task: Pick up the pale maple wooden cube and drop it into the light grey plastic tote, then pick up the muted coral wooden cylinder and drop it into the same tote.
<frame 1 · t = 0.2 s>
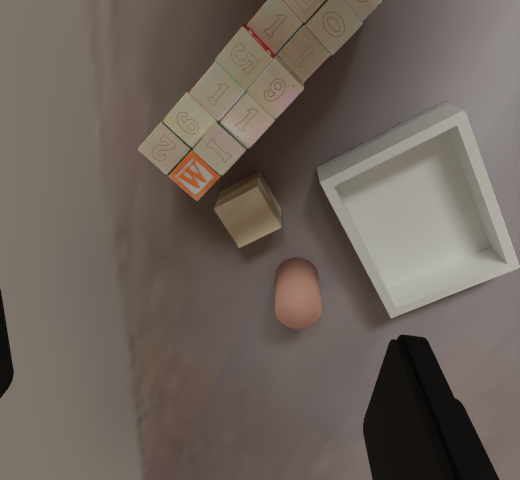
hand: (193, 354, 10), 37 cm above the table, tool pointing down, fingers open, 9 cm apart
stack of blocks: (265, 62, 42), on the table
cube: (251, 200, 48), on the table
tote: (410, 207, 47), on the table
cylinder: (296, 275, 52), on the table
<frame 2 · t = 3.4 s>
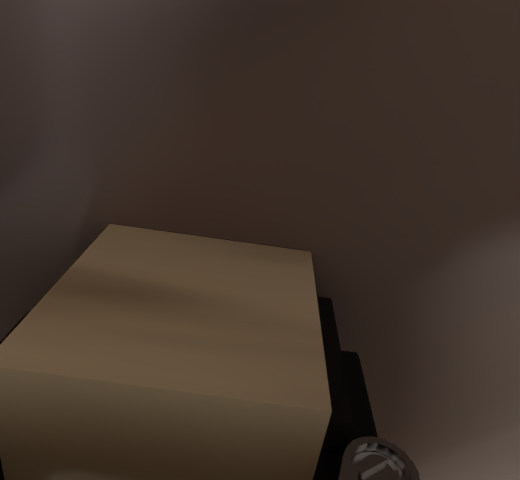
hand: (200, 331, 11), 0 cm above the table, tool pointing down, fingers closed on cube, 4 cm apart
cube: (203, 319, 12), on the table, touching gripper
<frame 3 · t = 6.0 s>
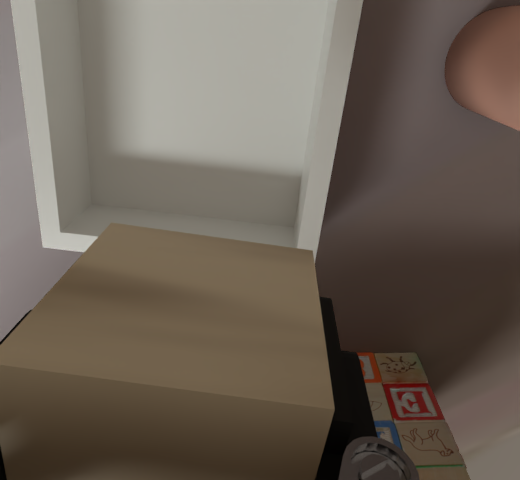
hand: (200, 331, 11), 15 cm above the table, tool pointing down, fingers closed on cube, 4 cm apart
stack of blocks: (270, 383, 33), on the table
cube: (204, 318, 12), point 15 cm above the table, touching gripper
tote: (201, 69, 23), on the table
cylinder: (495, 62, 22), on the table
when the fingers open (5 cm above the table, at t = 8.6 s): cube drops 3 cm, resting on tote.
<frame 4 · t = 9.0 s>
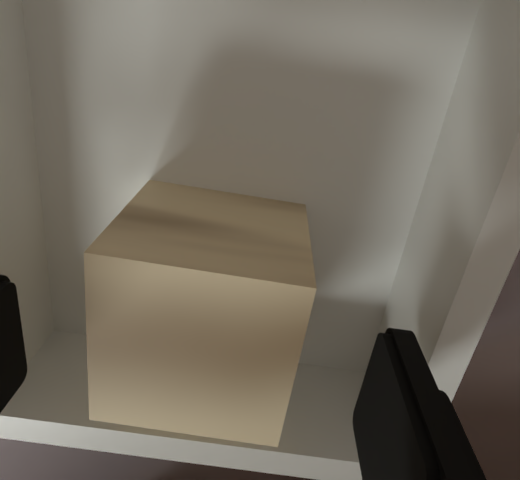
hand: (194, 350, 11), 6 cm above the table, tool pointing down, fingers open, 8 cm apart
cube: (219, 260, 15), point 1 cm above the table, touching tote
tote: (234, 137, 14), on the table
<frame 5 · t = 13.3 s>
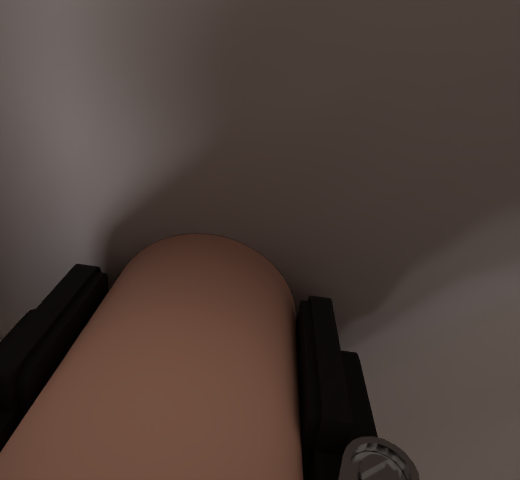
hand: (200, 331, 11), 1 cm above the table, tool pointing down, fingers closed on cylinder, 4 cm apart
cylinder: (204, 316, 12), on the table, touching gripper
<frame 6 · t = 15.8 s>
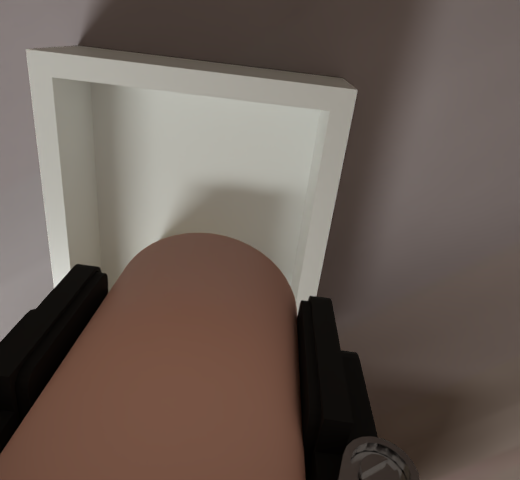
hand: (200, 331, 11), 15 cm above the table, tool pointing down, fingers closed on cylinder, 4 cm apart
tote: (201, 218, 26), on the table
cylinder: (205, 315, 12), point 15 cm above the table, touching gripper
when the fingers open (5 cm above the table, at t = 18.4 s): cylinder drops 3 cm, resting on tote.
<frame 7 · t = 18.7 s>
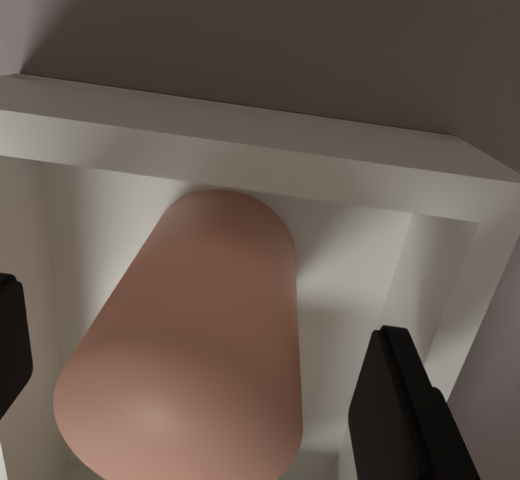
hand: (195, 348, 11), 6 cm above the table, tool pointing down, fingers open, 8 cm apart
tote: (214, 331, 18), on the table
cylinder: (222, 258, 15), point 1 cm above the table, touching tote
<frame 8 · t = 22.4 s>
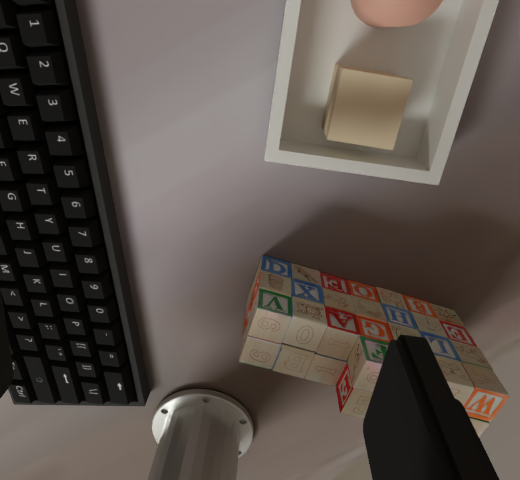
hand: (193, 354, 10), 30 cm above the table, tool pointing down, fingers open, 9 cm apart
computer keyboard: (43, 220, 44), on the table
stack of blocks: (349, 304, 46), on the table
cube: (357, 101, 36), point 1 cm above the table, touching tote
tote: (367, 48, 35), on the table
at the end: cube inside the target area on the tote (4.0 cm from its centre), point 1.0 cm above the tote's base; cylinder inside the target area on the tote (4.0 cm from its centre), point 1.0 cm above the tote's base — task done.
